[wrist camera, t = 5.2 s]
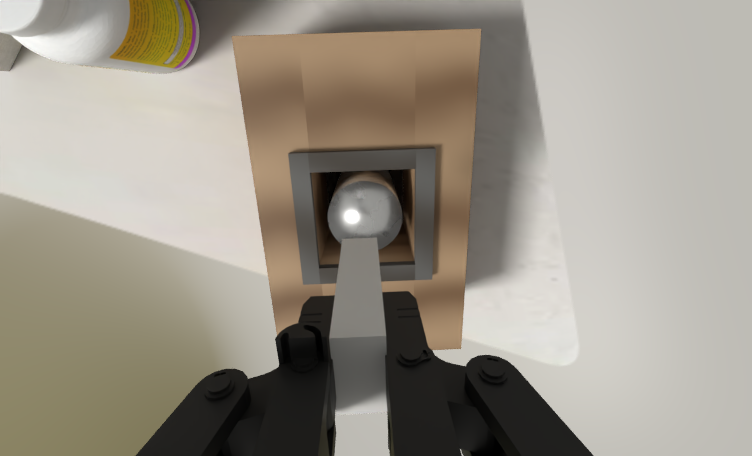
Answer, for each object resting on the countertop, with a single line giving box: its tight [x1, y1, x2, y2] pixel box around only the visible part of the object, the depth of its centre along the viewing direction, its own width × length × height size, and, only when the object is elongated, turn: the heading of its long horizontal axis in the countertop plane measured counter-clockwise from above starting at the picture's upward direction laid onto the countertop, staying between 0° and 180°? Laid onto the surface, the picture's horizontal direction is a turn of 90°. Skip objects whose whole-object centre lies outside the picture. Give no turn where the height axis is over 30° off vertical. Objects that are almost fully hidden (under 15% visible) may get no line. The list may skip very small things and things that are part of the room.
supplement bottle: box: [0, 0, 199, 74], centre depth 21 cm, size 7×7×13 cm
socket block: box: [232, 29, 481, 350], centre depth 27 cm, size 22×14×9 cm, turn 2°
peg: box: [328, 170, 403, 250], centre depth 28 cm, size 5×5×8 cm
